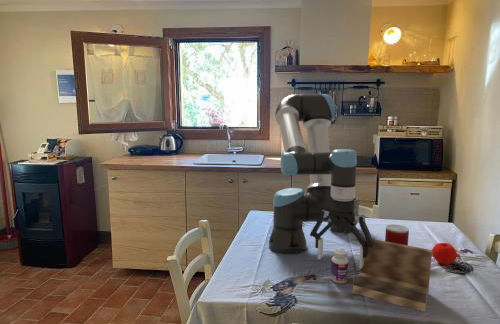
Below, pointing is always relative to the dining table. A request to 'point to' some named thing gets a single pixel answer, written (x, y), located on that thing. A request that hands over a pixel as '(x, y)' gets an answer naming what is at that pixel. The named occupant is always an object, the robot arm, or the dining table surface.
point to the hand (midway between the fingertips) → (340, 262)
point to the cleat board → (395, 274)
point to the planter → (340, 229)
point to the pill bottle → (339, 266)
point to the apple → (444, 253)
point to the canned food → (397, 234)
